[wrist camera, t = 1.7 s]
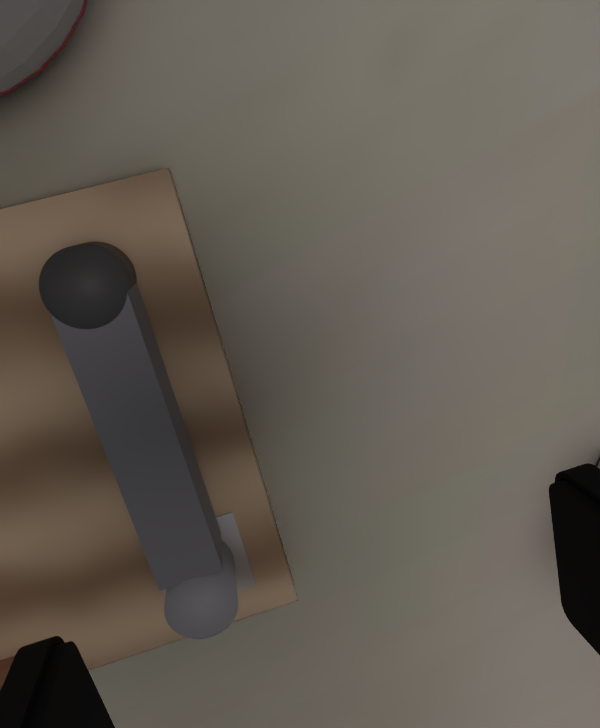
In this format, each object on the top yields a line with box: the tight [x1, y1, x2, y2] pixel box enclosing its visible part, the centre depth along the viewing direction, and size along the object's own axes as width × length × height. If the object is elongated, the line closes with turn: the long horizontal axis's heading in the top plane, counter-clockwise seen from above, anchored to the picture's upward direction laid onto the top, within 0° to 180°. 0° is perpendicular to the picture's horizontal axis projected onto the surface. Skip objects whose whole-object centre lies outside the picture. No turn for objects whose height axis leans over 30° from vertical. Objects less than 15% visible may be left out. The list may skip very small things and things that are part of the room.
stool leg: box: [39, 241, 238, 639], centre depth 23 cm, size 18×3×3 cm, turn 14°
